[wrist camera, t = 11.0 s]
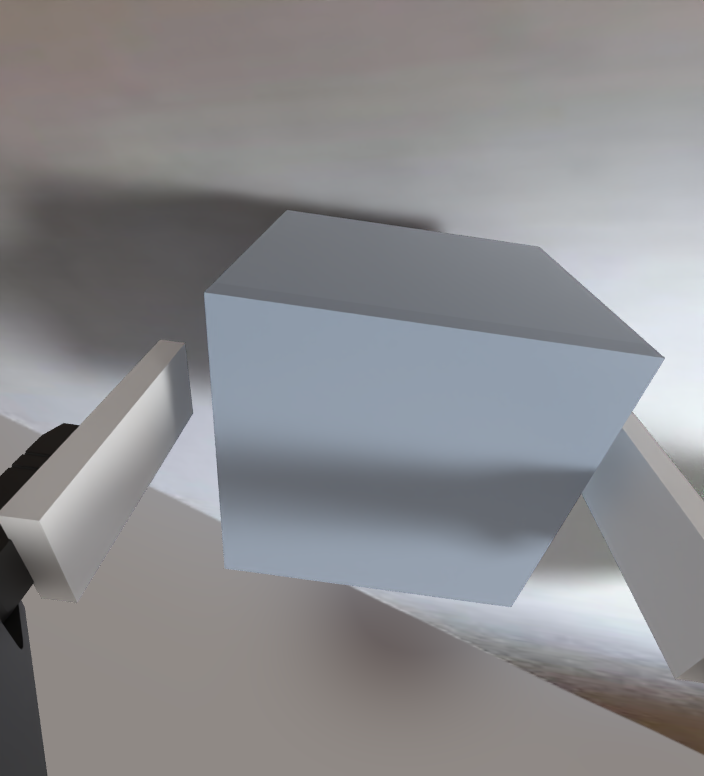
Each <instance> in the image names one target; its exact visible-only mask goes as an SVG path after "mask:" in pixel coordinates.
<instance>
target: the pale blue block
mask: <svg viewBox="0 0 704 776" xmlns="http://www.w3.org/2000/svg"><path fill="white" fill-rule="evenodd" d="M204 301H205V314H206V327H207V340H208V354H209V367H210V380H211V393H212V406H213V420H214V433H215V446H216V459H217V473H218V486H219V499H220V512H221V525H222V539H223V551H224V565H225V568H227V569H233V570H240V571H248V572H256V573H263V574H270V575H278V576H285V577H292V578H300V579H307V580H315V581H322V582H329V583H336V584H344V585H351V586H358V587H366V588H373V589H381V590H388V591H395V592H403V593H410V594H417V595H425V596H432V597H440V598H447V599H454V600H462V601H469V602H477V603H484V604H491V605H499V606H506V607H512V605H513V603H514V602H515V600H516V599H517V597H518V595H519V594H520V592H521V590H522V589H523V587H524V586H525V584H526V582H527V581H528V579H529V578H530V576H531V574H532V573H533V571H534V569H535V568H536V566H537V565H538V563H539V561H540V560H541V558H542V556H543V555H544V553H545V552H546V550H547V548H548V547H549V545H550V544H551V542H552V540H553V539H554V537H555V535H556V534H557V532H558V531H559V529H560V527H561V526H562V524H563V523H564V521H565V519H566V518H567V516H568V514H569V513H570V511H571V510H572V508H573V506H574V505H575V503H576V501H577V500H578V498H579V497H580V495H581V493H582V492H583V490H584V489H585V487H586V485H587V484H588V482H589V480H590V479H591V477H592V476H593V474H594V472H595V471H596V469H597V468H598V466H599V464H600V463H601V461H602V459H603V458H604V456H605V455H606V453H607V451H608V450H609V448H610V446H611V445H612V443H613V442H614V440H615V438H616V437H617V435H618V434H619V432H620V430H621V429H622V427H623V425H624V424H625V422H626V421H627V419H628V417H629V416H630V414H631V413H632V411H633V409H634V408H635V406H636V404H637V403H638V401H639V400H640V398H641V396H642V395H643V393H644V391H645V390H646V388H647V387H648V385H649V383H650V382H651V380H652V379H653V377H654V375H655V374H656V372H657V370H658V369H659V367H660V366H661V364H662V362H663V361H664V359H665V358H664V357H663V356H662V355H661V354H660V353H658V352H657V351H656V350H655V349H654V348H653V347H652V346H651V345H649V344H648V343H647V342H646V341H645V340H644V339H643V338H642V337H640V336H639V335H638V334H637V333H636V332H635V331H634V330H632V329H631V328H630V327H629V326H628V325H627V324H626V323H625V322H623V321H622V320H621V319H620V318H619V317H618V316H617V315H616V314H614V313H613V312H612V311H611V310H610V309H609V308H608V307H607V306H605V305H604V304H603V303H602V302H601V301H600V300H599V299H598V298H596V297H595V296H594V295H593V294H592V293H591V292H590V291H588V290H587V289H586V288H585V287H584V286H583V285H582V284H581V283H579V282H578V281H577V280H576V279H575V278H574V277H573V276H572V275H570V274H569V273H568V272H567V271H566V270H565V269H564V268H563V267H561V266H560V265H559V264H558V263H557V262H556V261H555V260H553V259H552V258H551V257H550V256H549V255H548V254H547V253H546V252H544V251H543V250H542V249H541V248H540V247H538V246H531V245H524V244H517V243H510V242H503V241H496V240H489V239H483V238H476V237H469V236H462V235H455V234H448V233H441V232H435V231H428V230H421V229H414V228H407V227H400V226H393V225H387V224H380V223H373V222H366V221H359V220H352V219H345V218H339V217H332V216H325V215H318V214H311V213H304V212H297V211H291V210H286V211H285V212H284V213H283V214H282V215H281V216H280V217H279V218H278V219H277V220H276V221H275V222H274V223H273V224H272V225H271V226H270V227H269V228H268V229H267V230H266V231H265V232H264V233H263V234H262V235H261V236H260V237H259V238H258V239H257V240H256V241H255V242H254V243H253V244H252V245H251V246H250V247H249V248H248V249H247V250H246V251H245V252H244V253H243V254H242V255H241V256H240V257H239V258H238V259H237V260H236V261H235V262H234V263H233V264H232V265H231V266H230V267H229V268H228V269H227V270H226V271H225V272H224V273H223V274H222V275H221V276H220V277H219V278H218V279H217V280H216V281H215V282H214V283H213V284H212V285H211V286H210V287H209V288H208V289H207V290H206V291H205V292H204Z"/></svg>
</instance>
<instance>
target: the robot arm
mask: <svg viewBox="0 0 704 776" xmlns="http://www.w3.org/2000/svg"><path fill="white" fill-rule="evenodd" d="M192 414H193V408H192V399H191V390H190V382H189V373H188V364H187V355H186V346H185V343H182V342H175V341H168V340H159V341H158V342H157V343H156V344H155V346H154V347H153V348H152V349H151V350H150V351H149V352H148V353H147V354H146V355H145V356H144V357H143V358H142V359H141V360H140V362H139V363H138V364H137V365H136V366H135V367H134V368H133V369H132V370H131V371H130V372H129V373H128V374H127V375H126V377H125V378H124V379H123V380H122V381H121V382H120V383H119V384H118V385H117V386H116V387H115V388H114V389H113V390H112V391H111V393H110V394H109V395H108V396H107V397H106V398H105V399H104V400H103V401H102V402H101V403H100V404H99V405H98V406H97V407H96V409H95V410H94V411H93V412H92V413H91V414H90V415H89V416H88V417H87V418H86V419H85V420H84V421H83V422H82V423H81V425H73V424H66V423H63V424H61V425H60V426H58V427H56V428H54V429H52V430H51V431H49V432H47V433H45V434H43V435H42V436H41V437H40V438H39V439H38V440H37V441H35V443H33V444H32V446H30V447H29V448H28V449H27V450H26V453H25V455H23V454H22V455H21V456H20V457H19V458H18V459H17V460H16V461H15V462H14V463H13V464H12V467H11V468H8V469H7V470H6V471H5V472H4V473H3V474H2V475H1V476H0V776H47V769H46V762H45V754H44V747H43V740H42V732H41V725H40V718H39V710H38V703H37V695H36V688H35V680H34V673H33V665H32V658H31V651H30V643H29V636H28V628H27V621H26V613H25V607H24V605H23V603H22V601H21V599H22V598H23V597H24V595H25V594H26V593H27V591H28V590H29V588H30V587H31V586H32V584H34V586H35V587H36V590H37V591H38V593H39V595H40V597H41V598H43V599H51V600H59V601H67V602H74V603H77V602H78V601H79V599H80V598H81V596H82V594H83V593H84V591H85V589H86V588H87V586H88V584H89V583H90V581H91V580H92V578H93V576H94V575H95V573H96V571H97V570H98V568H99V566H100V564H101V563H102V562H103V559H104V558H105V557H106V555H107V553H108V552H109V550H110V548H111V547H112V545H113V544H114V542H115V540H116V539H117V537H118V535H119V534H120V532H121V530H122V529H123V527H124V525H125V524H126V522H127V521H128V519H129V517H130V516H131V514H132V512H133V511H134V509H135V507H136V506H137V504H138V502H139V501H140V499H141V497H142V496H143V494H144V492H145V491H146V489H147V488H148V486H149V485H150V483H151V481H152V480H153V478H154V476H155V475H156V473H157V471H158V470H159V468H160V467H161V465H162V463H163V462H164V460H165V458H166V457H167V455H168V453H169V452H170V450H171V448H172V447H173V445H174V444H175V442H176V440H177V439H178V437H179V435H180V434H181V432H182V430H183V429H184V427H185V426H186V424H187V422H188V421H189V419H190V417H191V416H192ZM582 495H583V497H584V499H585V501H586V503H587V505H588V507H589V509H590V511H591V513H592V515H593V517H594V519H595V521H596V523H597V525H598V527H599V529H600V531H601V533H602V535H603V537H604V539H605V541H606V543H607V545H608V547H609V549H610V551H611V553H612V555H613V557H614V559H615V561H616V563H617V565H618V567H619V569H620V571H621V573H622V575H623V577H624V579H625V581H626V583H627V585H628V587H629V589H630V591H631V593H632V595H633V597H634V599H635V601H636V603H637V605H638V607H639V609H640V611H641V613H642V615H643V617H644V618H645V620H646V622H647V624H648V626H649V628H650V630H651V632H652V634H653V636H654V638H655V640H656V642H657V644H658V646H659V648H660V650H661V652H662V654H663V656H664V658H665V660H666V662H667V664H668V666H669V668H670V670H671V672H672V674H673V676H674V678H675V679H677V680H685V681H693V682H701V683H704V500H703V499H702V498H701V497H700V495H699V494H698V493H697V492H696V490H695V489H694V488H693V487H692V485H691V484H690V483H689V482H688V480H687V479H686V478H685V477H684V475H683V474H682V473H681V472H680V470H679V469H678V468H677V467H676V465H675V464H674V463H673V462H672V460H671V459H670V458H669V457H668V455H667V454H666V453H665V452H664V450H663V449H662V448H661V447H660V445H659V444H658V443H657V442H656V440H655V439H654V438H653V437H652V435H651V434H650V433H649V432H648V430H647V429H646V428H645V427H644V425H643V424H642V423H641V422H640V420H639V419H638V418H637V417H636V415H635V414H634V413H633V412H632V413H631V414H630V416H629V417H628V419H627V421H626V422H625V424H624V425H623V427H622V429H621V430H620V432H619V434H618V435H617V437H616V438H615V440H614V442H613V443H612V445H611V446H610V448H609V450H608V451H607V453H606V455H605V456H604V458H603V459H602V461H601V463H600V464H599V466H598V468H597V469H596V471H595V472H594V474H593V476H592V477H591V479H590V480H589V482H588V484H587V485H586V487H585V489H584V490H583V492H582Z"/></svg>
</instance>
